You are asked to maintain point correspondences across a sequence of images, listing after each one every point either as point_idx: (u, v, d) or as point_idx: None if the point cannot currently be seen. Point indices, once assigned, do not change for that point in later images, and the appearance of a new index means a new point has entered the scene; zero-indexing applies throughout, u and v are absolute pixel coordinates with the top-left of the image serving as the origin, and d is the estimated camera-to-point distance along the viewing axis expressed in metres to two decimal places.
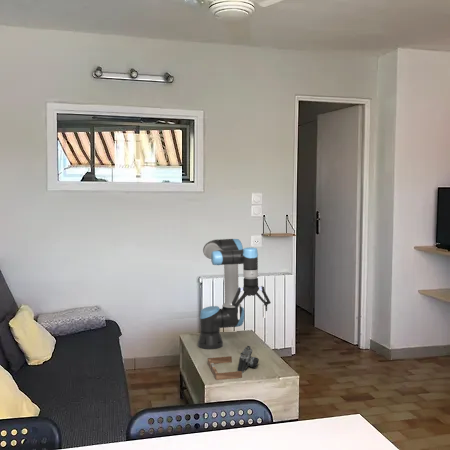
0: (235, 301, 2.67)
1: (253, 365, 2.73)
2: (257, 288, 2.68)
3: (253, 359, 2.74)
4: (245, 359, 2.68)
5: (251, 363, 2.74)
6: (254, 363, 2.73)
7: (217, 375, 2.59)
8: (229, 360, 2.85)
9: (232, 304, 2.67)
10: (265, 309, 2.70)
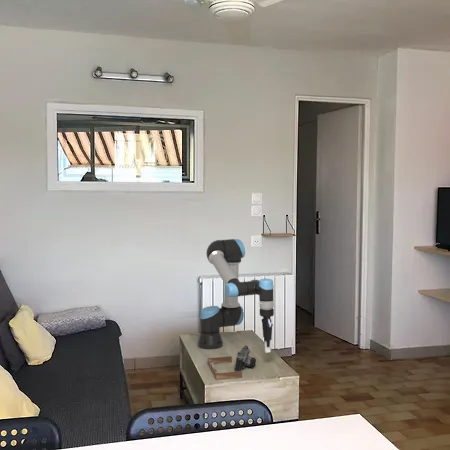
0: (263, 332, 2.79)
1: (250, 365, 2.74)
2: (266, 320, 2.72)
3: (250, 359, 2.75)
4: (242, 359, 2.68)
5: (248, 363, 2.74)
6: (251, 363, 2.73)
7: (217, 375, 2.59)
8: (229, 360, 2.85)
9: (263, 336, 2.80)
10: (266, 344, 2.76)
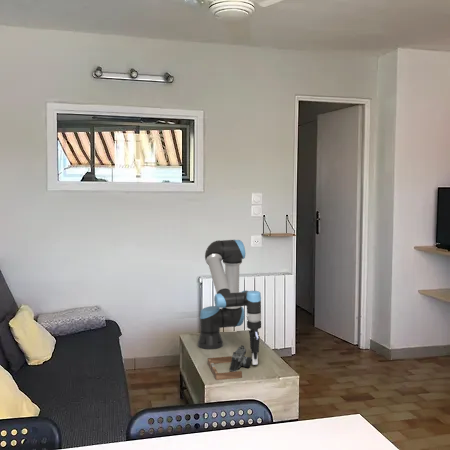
0: (250, 344, 2.79)
1: (246, 365, 2.74)
2: (253, 333, 2.72)
3: (246, 359, 2.75)
4: (237, 358, 2.69)
5: (244, 362, 2.74)
6: (247, 363, 2.74)
7: (217, 375, 2.59)
8: (229, 360, 2.85)
9: None
10: (253, 356, 2.75)
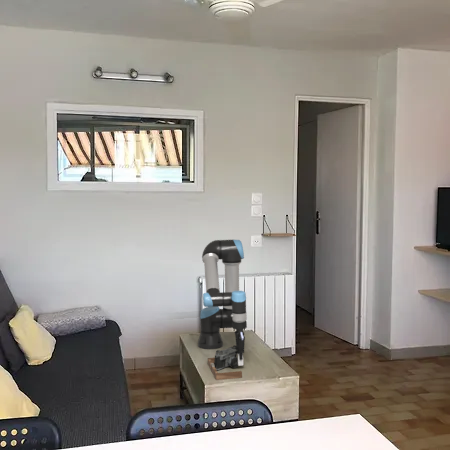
0: (236, 345, 2.76)
1: (231, 364, 2.74)
2: (239, 333, 2.70)
3: (232, 358, 2.74)
4: (219, 357, 2.71)
5: (229, 362, 2.74)
6: (232, 362, 2.73)
7: (217, 375, 2.59)
8: None
9: (236, 349, 2.77)
10: (239, 357, 2.73)
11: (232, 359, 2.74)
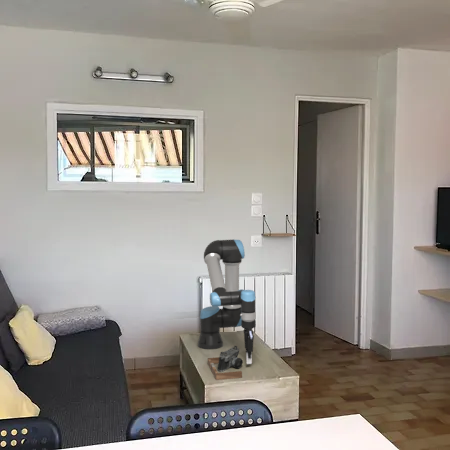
0: (245, 343, 2.78)
1: (235, 365, 2.74)
2: (248, 332, 2.71)
3: (235, 359, 2.74)
4: (224, 358, 2.70)
5: (233, 363, 2.74)
6: (236, 363, 2.73)
7: (217, 375, 2.59)
8: None
9: (245, 347, 2.78)
10: (248, 356, 2.74)
11: (236, 360, 2.74)
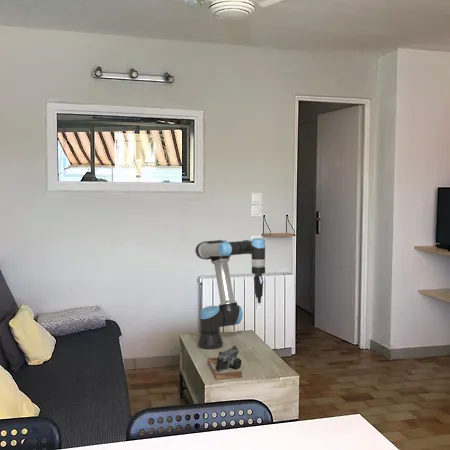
0: (255, 289, 2.93)
1: (233, 365, 2.73)
2: (258, 277, 2.86)
3: (234, 359, 2.74)
4: (222, 358, 2.70)
5: (231, 363, 2.74)
6: (234, 363, 2.73)
7: (217, 375, 2.59)
8: None
9: (255, 293, 2.93)
10: (257, 300, 2.89)
11: (234, 360, 2.74)
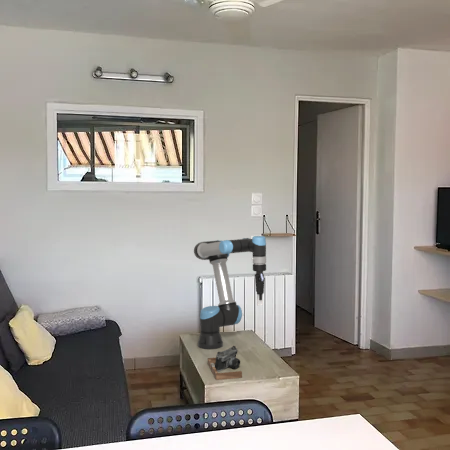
0: (256, 287, 2.95)
1: (232, 365, 2.73)
2: (259, 274, 2.88)
3: (233, 359, 2.74)
4: (220, 358, 2.70)
5: (230, 363, 2.74)
6: (233, 363, 2.73)
7: (217, 375, 2.59)
8: None
9: (256, 290, 2.95)
10: (259, 298, 2.91)
11: (233, 360, 2.74)
